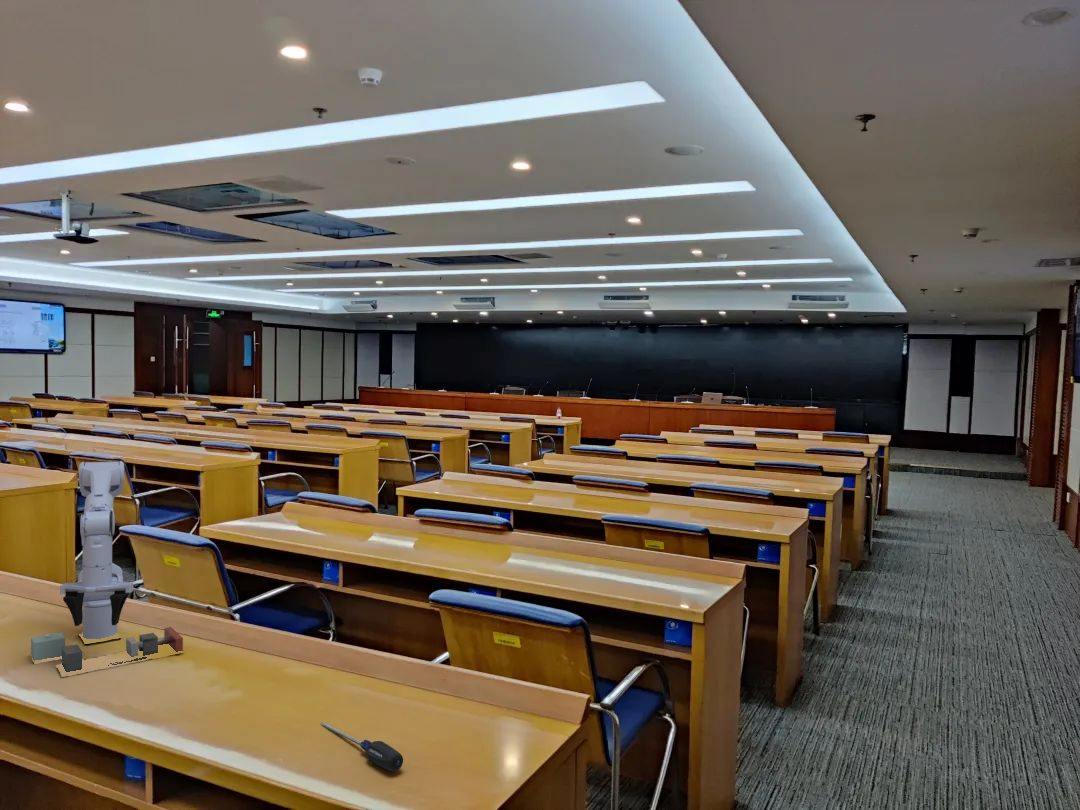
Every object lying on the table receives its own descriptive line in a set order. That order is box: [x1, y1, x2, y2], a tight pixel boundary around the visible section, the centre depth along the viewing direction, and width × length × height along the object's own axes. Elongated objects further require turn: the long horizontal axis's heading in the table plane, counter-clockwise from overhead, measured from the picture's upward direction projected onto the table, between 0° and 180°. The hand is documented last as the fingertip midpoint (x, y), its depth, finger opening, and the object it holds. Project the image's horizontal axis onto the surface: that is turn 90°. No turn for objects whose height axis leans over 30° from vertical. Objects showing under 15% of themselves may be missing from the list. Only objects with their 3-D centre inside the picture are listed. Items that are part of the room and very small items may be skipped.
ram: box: [125, 626, 184, 657], centre depth 177 cm, size 10×10×3 cm
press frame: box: [61, 632, 159, 672], centre depth 173 cm, size 8×25×5 cm, turn 131°
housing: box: [30, 631, 66, 661], centre depth 173 cm, size 5×6×6 cm
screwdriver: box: [320, 722, 404, 772], centre depth 134 cm, size 26×4×4 cm, turn 44°
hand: (96, 624), depth 168 cm, fingers open, 7 cm apart
